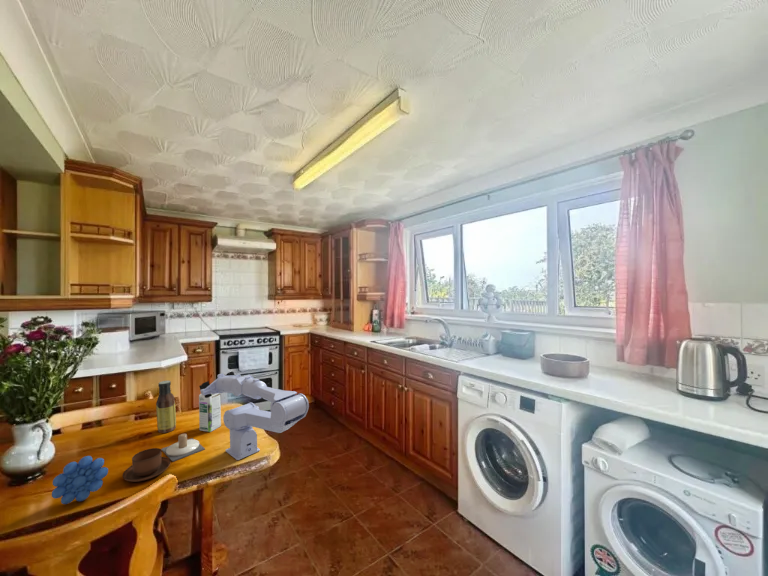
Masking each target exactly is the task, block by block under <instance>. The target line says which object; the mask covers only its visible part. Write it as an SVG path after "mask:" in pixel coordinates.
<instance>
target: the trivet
mask: <svg viewBox="0 0 768 576" xmlns="http://www.w3.org/2000/svg"><path fill="white" fill-rule="evenodd" d="M190 439H194V438H193V437H192V438H187V440H190ZM169 446H170V445H168V446H166V447H162V448H160V449H161V452H162V453H164V455H165V456H167V457H166V458H169V459H170V461H171V462H172V463H174V462H176V461H179V460H182V459H184V458H186V457H189V456H192V455H195V454H197V453H200V452H202V451H204V450H206V448H205V447H204V446H203V445H202V444H201V443H199V447H198V448H197V449H196V450H194V451H192V452H190V453H188V454H185V455H181V456H168V455H167V454H166V449H167V448H168V447H169Z"/></svg>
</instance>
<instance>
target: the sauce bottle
mask: <svg viewBox="0 0 768 576" xmlns="http://www.w3.org/2000/svg"><path fill="white" fill-rule="evenodd" d="M171 383H172V382H171V380H162V381H160V382H158V384H157V385H158V388H159V389H158V393H159V394H158V397H157V399H156V402H155V409H156V424H157V426H156V427H157V431H158V433H161V434H166V433H170V432H173V431H174V430H175V429H176V426H177V415H176V403H175V402H176V401H175V396H174V394H173V393H172V392H171V391H172V390H171Z"/></svg>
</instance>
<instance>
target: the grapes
mask: <svg viewBox="0 0 768 576" xmlns="http://www.w3.org/2000/svg"><path fill="white" fill-rule="evenodd" d="M104 465H105V459H104V458H103V457H97V458H96V459H94V460H93V457H92V456H91V455H87V456H86V455H85V456H83V457H82V458H80V459H79V461H78V462H76V461H70V462H68V463H67V464H66V465H65V466H64V467H63V471H62V473H59V474H58V475H56V476H55V477H54V478H53V479H52V485H53V486H54V487H55V488H54V489H53V490H52V492H51V497H52V498H53V499H60V502H61V504H63V505H67V504H70V503H72V502H73V501H74V500H76V502H84V501H85V500H87V499H88V498H89V496H90V494H91V493H92V492H93V493H94V492H97V491H98V490H99V489H101V488H102V486H103V483H104V481H103V478H105V477H107V475H108V473H109V468H108V467H106V466H104Z"/></svg>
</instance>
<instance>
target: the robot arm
mask: <svg viewBox="0 0 768 576" xmlns="http://www.w3.org/2000/svg"><path fill="white" fill-rule="evenodd" d="M216 376H217V377H216V379H214V380H213V382H211V383H210V382H209V380H208V381H205V382H203V383H201V384H200V385H199V390H200V394H201V395H204V396H205V398H208V397H210V396H212V395H211V394H216V393H220V394H223V393H226V394H233V395H234V396H235V397H240V396H241V395H244V396H246V397H247V398H251V399H254V400H260V399H263V400H265V401H267V402H269V403H270V408H269V411H267V410H263V409H260V407H259V406H258V405H256V404H255V403H253V402H248V403H246V404H242V405H240V406H237V407H235V408H232V409H228V410H226V411H224V413H223V417H222V418H223V424H224V426H225V427H226V428H227V429H228V430H229V448H226V449H225V452H226V453H227V454H229V455H230V456H231V457H232V458H234V459H235V461H240V460H241V459H244V458H246V457H249V456H251V455H253V454H255V453H256V454H257V453H258V452H259V451H261V450H260V448H259V447H258V434H257V432H256V431H255V429H254V428H257V429H260V430H265V431H269V432H274V433H276V434H281V433H283V432H285V431H287V430H289V429H291V427H293V426H294V425H296V424H297V423H298V422H299V421H301V420H302V419H304V418H305V417H306V416H307V414H308V411H309V407H310V404H309V403H310V402H309V400H308V398H307V397H306V395H305V394H303V393H298V392H297V391H295V390H293V391H292V390H283V389H279V388H273V387H269V386H268V385H267V384H266V383H265V382H264V381H262V380H260V378H254V376H253V375H252V374H249V373H248V374H247V375H243V376H242V375H241V374H240V373H237V374H235V372H234V371H230V372H227V373H226V374H224V373H219V374H217V375H216Z"/></svg>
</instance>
